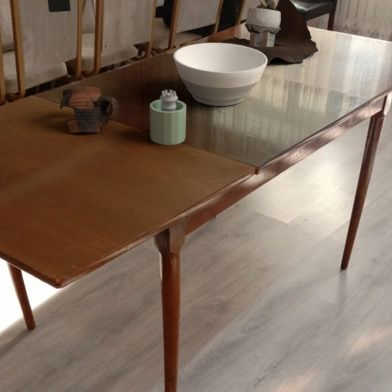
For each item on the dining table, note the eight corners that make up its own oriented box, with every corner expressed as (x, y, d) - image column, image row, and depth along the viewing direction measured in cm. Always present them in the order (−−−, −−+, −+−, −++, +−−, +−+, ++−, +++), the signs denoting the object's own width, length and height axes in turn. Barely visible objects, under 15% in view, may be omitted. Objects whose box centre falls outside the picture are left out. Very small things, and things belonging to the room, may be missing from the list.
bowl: (217, 75, 145) (219, 37, 139) (282, 99, 135) (287, 59, 129) (154, 94, 134) (153, 54, 129) (219, 122, 124) (222, 79, 119)
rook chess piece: (164, 129, 120) (164, 86, 114) (184, 134, 118) (185, 91, 113) (152, 137, 117) (151, 93, 111) (173, 142, 115) (173, 98, 110)
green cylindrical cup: (157, 147, 114) (157, 114, 111) (145, 133, 119) (144, 101, 115) (190, 142, 117) (191, 109, 113) (177, 128, 121) (177, 97, 117)
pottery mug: (54, 136, 118) (48, 89, 116) (78, 140, 126) (73, 97, 125) (112, 127, 114) (106, 79, 112) (132, 133, 123) (128, 88, 121)
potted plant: (215, 59, 161) (230, -55, 151) (267, 66, 173) (283, -38, 163) (270, 65, 148) (290, -58, 138) (321, 73, 159) (343, -40, 149)
